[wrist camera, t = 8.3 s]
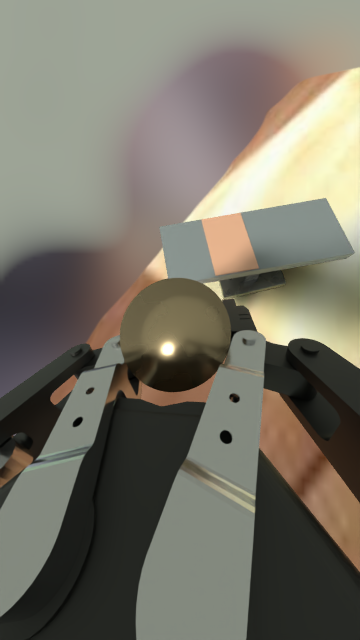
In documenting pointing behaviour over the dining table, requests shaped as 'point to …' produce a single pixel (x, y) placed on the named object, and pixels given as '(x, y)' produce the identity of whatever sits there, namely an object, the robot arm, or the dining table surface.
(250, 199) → the dining table surface
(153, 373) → the ball
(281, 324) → the dining table surface
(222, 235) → the seesaw board
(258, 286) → the pivot stand
